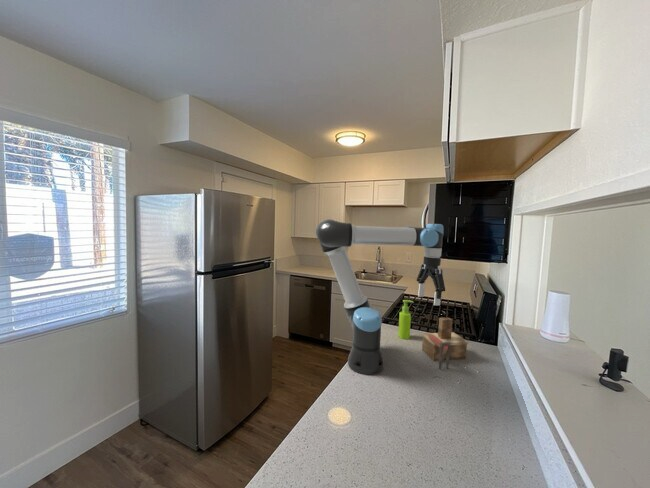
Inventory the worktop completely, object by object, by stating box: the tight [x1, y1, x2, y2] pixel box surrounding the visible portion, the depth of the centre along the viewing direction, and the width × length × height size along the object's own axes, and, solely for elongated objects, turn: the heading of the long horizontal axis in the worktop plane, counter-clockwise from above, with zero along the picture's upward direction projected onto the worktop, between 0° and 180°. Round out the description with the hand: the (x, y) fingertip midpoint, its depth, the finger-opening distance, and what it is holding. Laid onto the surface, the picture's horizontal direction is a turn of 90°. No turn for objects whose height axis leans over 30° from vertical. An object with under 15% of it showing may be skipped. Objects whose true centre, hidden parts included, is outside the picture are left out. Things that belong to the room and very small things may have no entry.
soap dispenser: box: [397, 299, 415, 340], centre depth 145 cm, size 6×7×20 cm
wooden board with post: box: [421, 317, 469, 346], centre depth 127 cm, size 17×11×11 cm, turn 100°
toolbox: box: [421, 336, 468, 371], centre depth 124 cm, size 18×17×12 cm
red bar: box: [429, 335, 448, 350], centre depth 120 cm, size 2×11×2 cm, turn 10°
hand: (428, 300), depth 131 cm, fingers open, 13 cm apart
